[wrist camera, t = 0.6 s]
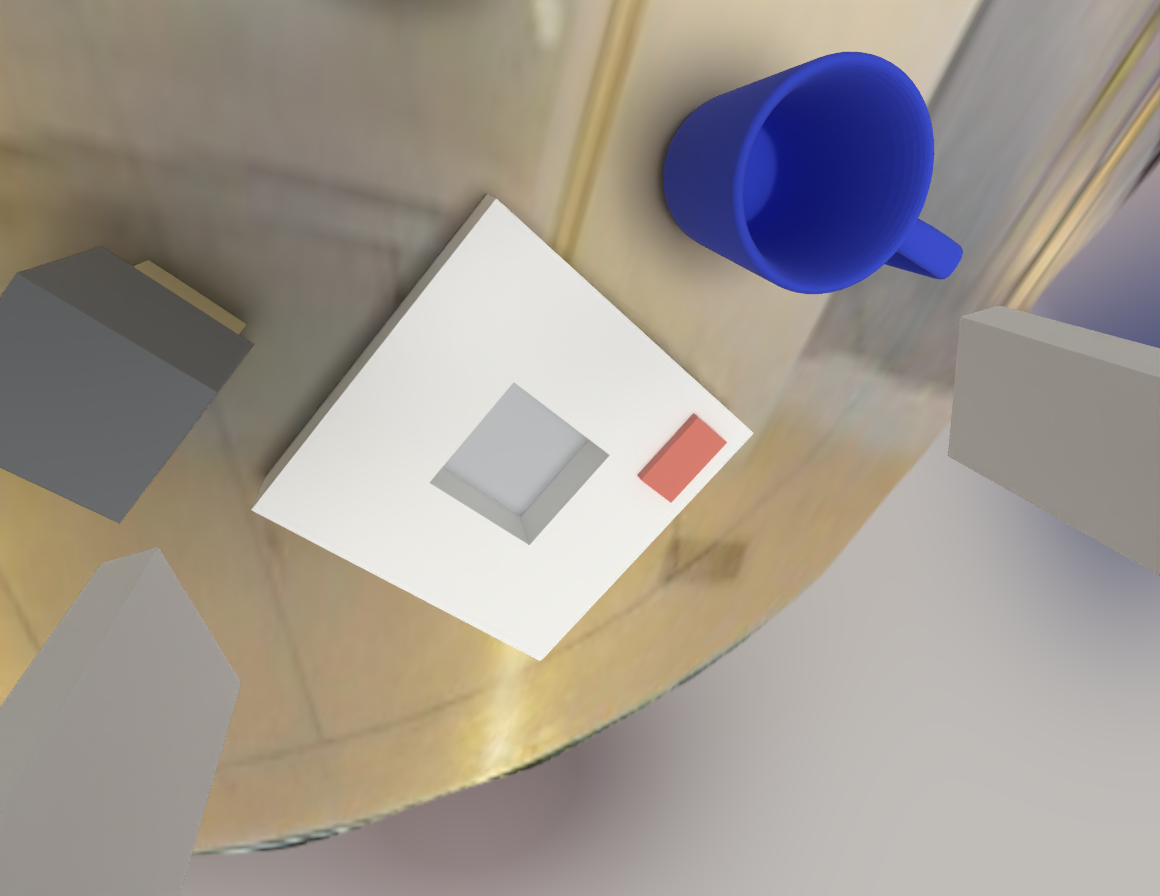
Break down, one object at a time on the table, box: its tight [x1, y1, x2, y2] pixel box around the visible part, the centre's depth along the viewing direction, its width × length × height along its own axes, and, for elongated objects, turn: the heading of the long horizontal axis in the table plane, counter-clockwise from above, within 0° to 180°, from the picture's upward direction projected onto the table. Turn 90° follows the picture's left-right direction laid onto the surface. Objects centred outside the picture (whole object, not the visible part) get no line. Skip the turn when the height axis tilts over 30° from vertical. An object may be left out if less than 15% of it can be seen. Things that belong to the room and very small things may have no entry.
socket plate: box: [251, 194, 753, 661], centre depth 34 cm, size 18×18×4 cm
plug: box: [0, 246, 254, 523], centre depth 25 cm, size 6×6×10 cm
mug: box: [663, 52, 963, 294], centre depth 29 cm, size 8×12×10 cm
